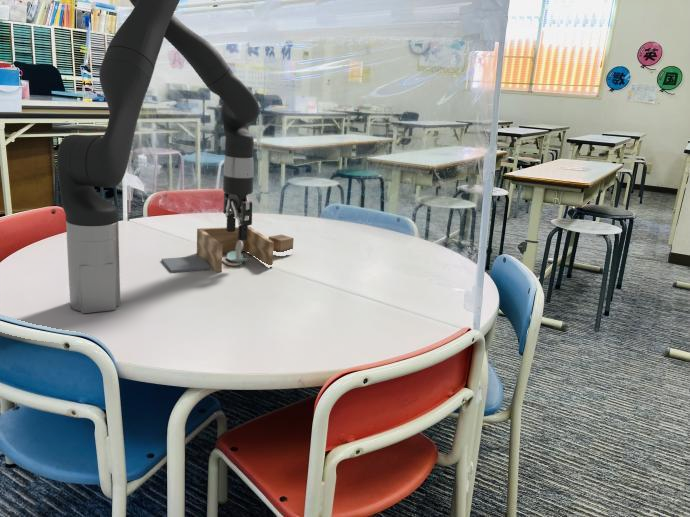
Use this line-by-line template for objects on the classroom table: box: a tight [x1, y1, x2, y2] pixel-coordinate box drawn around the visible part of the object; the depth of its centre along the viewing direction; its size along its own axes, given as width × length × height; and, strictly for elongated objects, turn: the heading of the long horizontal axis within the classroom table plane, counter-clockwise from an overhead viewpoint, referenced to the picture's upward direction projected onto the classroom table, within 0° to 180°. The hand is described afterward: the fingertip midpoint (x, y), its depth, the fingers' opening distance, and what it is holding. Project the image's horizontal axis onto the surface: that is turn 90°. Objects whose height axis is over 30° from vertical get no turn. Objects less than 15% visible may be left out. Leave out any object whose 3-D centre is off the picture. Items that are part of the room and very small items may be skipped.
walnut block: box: [268, 234, 294, 252], centre depth 157 cm, size 5×5×5 cm
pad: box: [161, 255, 213, 274], centre depth 139 cm, size 10×10×1 cm
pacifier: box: [222, 240, 249, 267], centre depth 144 cm, size 7×6×6 cm
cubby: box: [196, 226, 274, 273], centre depth 146 cm, size 17×15×7 cm
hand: (236, 235), depth 144 cm, fingers open, 8 cm apart
